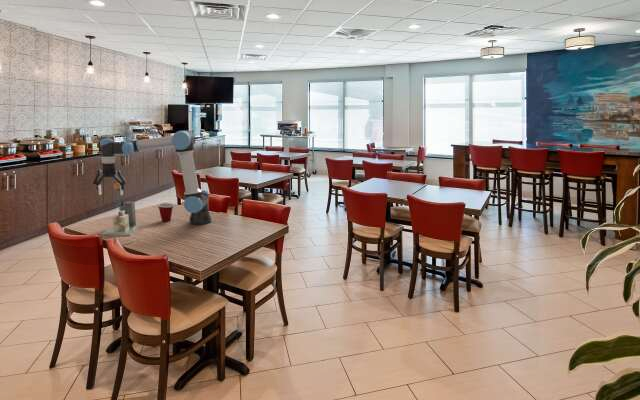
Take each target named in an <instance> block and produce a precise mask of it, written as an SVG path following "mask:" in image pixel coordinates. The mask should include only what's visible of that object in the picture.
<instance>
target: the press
mask: <svg viewBox="0 0 640 400" xmlns="http://www.w3.org/2000/svg"><path fill="white" fill-rule="evenodd" d="M123 204H124V210H123V211H124V214H128V216H129V229H127V230H126V231H114V230H113V226H112V227H110V228H108V229H107V230H105V231H104V232H103V233H102V236H103V235H111V236H116V237H117V236H123V237H125V236H132V235H133V234H134V233H135V232H137V231H138V230H139V229H140V226H136V225H137V224H136V223H137V221H136V206H135V201H125V202H123Z"/></svg>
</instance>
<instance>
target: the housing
mask: <svg viewBox="0 0 640 400" xmlns="http://www.w3.org/2000/svg"><path fill="white" fill-rule="evenodd" d="M112 227H113V230H114V231H126V230H127V229H129V216H128V214H125V213H124V214H123V211H120V210H119V211H118V213H117V214H115V215H113V216H112Z"/></svg>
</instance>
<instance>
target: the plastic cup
mask: <svg viewBox="0 0 640 400" xmlns="http://www.w3.org/2000/svg"><path fill="white" fill-rule="evenodd" d="M174 206H175V205H174V204H173V203H168V202H167V203H165V202H164V203H163V202H162V203H158V204H157V207H158V209H159V214H160V218H161V219H160V220H161V221H162V222H164V223H168V222H171V220H172V214H173V209H174Z"/></svg>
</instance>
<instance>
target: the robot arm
mask: <svg viewBox="0 0 640 400" xmlns="http://www.w3.org/2000/svg"><path fill="white" fill-rule="evenodd" d="M196 141H197V140H196V135H195V134H194V133H193V132H192V131H190V130H179V131H176V132H175V133H174V134H173V135H172V134H171V135H167V136H159V137H154V138H153V137H151V138H145V139H139V140H130V141H129V140H128V141H123V142H120V141H119V142H115V141H114V140H113V139H112V138H101V139H100V145H99V147H100V153H101V163H102V164H101V167H102V170H101V169H98V170H97V172H96V175H95V178H94V180H93V182H92V184H93V185H96V191H97V190H98V196H101V195H102V194H103V193H102V184H101V183H102V182H103V181H104V180H105V178H113V179H115V181H117V183H118V184H120V195H121V196H123V195H124V190H125V185H126V184H127V183H128V182H127V181H126V179H125V177H124V175H123V174H122V171H121V170H120V169H119V170H118V169H117V170H116V163H115V161H116V160H115V155H132V154H133V153H139V152H145V151H152V150H158V149H159V150H160V149H166V148H167V149H168V148H173V147H174V149H175V153H176V154H177V155H178V157H179V163H180V168H181V172H182V177H183V183H184V189H185V191H184V193H183V195H184V202H183V207H184V209H185V210H186V211H187V212H189V213H190V216H189V219H188V222H189V223H190V224H192V225H206V223H207V224H210V223H212V216H211V213H210V210H209V196H210V195H209V191H208V190H206V189H200V186H199V181H198V177H197V176H198V175H197V171H196V170H197V169H196V164H195V160H194V155H193V154H194V152H195V147H194V146H195V144H196ZM101 174H103V175H102V176H101Z"/></svg>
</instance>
